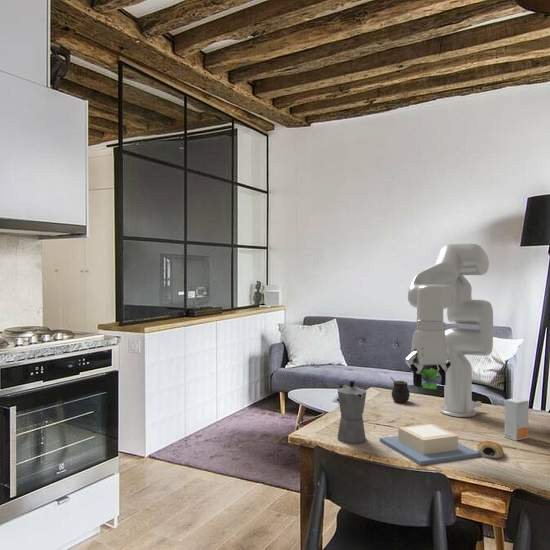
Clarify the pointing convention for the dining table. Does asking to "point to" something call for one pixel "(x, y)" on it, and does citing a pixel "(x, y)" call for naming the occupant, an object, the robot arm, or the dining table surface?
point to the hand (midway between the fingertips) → (429, 385)
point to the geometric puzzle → (430, 378)
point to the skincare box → (516, 419)
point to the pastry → (490, 449)
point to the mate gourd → (400, 391)
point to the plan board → (429, 457)
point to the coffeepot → (351, 413)
